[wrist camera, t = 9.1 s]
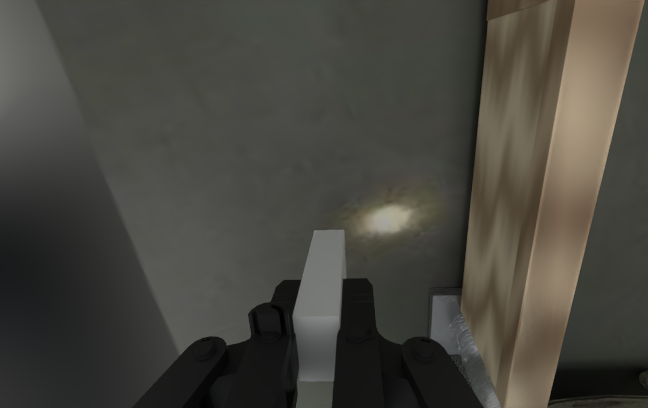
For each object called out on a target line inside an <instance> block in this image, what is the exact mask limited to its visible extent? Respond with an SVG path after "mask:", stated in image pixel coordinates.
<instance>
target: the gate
mask: <svg viewBox="0 0 648 408" xmlns="http://www.w3.org/2000/svg"><path fill="white" fill-rule="evenodd" d="M643 5H644V0H488V9H487V19H486V21H488V28H487V38H486V49H485V59H484V70H483V80H482V90H481V101H480V111H479V122H478V132H477V143H476V153H475V163H474V174H473V184H472V195H471V205H470V215H469V226H468V236H467V247H466V257H465V268H464V278H463V288H462V299H461V309H460V310H461V312H462V315H463V317H464V319H465V322H466V324H467V326H468V328H469V331H470V333H471V335H472V337H473V340H474V342H475V344H476V346H477V349H478V351H479V353H480V356H481V358H482V360H483V362H484V365H485V367H486V369H487V371H488V374H489V376H490V378H491V381H492V383H493V385H494V387H495V394H496V396H497V398H498V401H499V403H500V405H501V408H547V405H548V401H549V397H550V393H551V389H552V385H553V380H554V376H555V372H556V368H557V364H558V359H559V355H560V351H561V347H562V343H563V339H564V334H565V330H566V326H567V322H568V318H569V314H570V309H571V305H572V301H573V297H574V293H575V289H576V284H577V280H578V276H579V272H580V268H581V263H582V259H583V255H584V251H585V247H586V243H587V238H588V234H589V230H590V226H591V222H592V218H593V213H594V209H595V205H596V201H597V197H598V192H599V188H600V184H601V180H602V176H603V172H604V167H605V163H606V159H607V155H608V151H609V147H610V142H611V138H612V134H613V130H614V126H615V122H616V117H617V113H618V109H619V105H620V101H621V96H622V92H623V88H624V84H625V80H626V76H627V71H628V67H629V63H630V59H631V55H632V51H633V46H634V42H635V38H636V34H637V30H638V26H639V21H640V17H641V13H642V9H643Z"/></svg>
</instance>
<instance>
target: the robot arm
mask: <svg viewBox="0 0 648 408" xmlns="http://www.w3.org/2000/svg"><path fill="white" fill-rule="evenodd" d="M346 278H347V277H346V255H345V233H344V230H314V233H313V237H312V241H311V245H310V249H309V253H308V257H307V261H306V265H305V269H304V273H303V276H302V280H283V281H282V282H281V283H280V284H279V285H278V286H277V287H276V289H275V292H274V295H273V297H272V300H271V302H268V303H263V304H260V305H258V306H256V307H255V308H253V309H252V310H251V311H250V313H249V314H248V317H249V323H250V329H251V338H250V339H248V340H246V341H244V342H241V343H237V344H233V345H228V346H227V345H226V342H225V341H224V340H223V339H222V338H219V337H212V336H210V337H205V338H202V339H200V340H197V341H195V342H194V343H193V344H191V345H190V346H189V347H188V348H187V349H186V350H185V351H184V352H183V353H182V354H181V355H180V356H179V358H178V359H177V360H176V361H175V362H174V363H173V364H172V365H171V366H170V367H169V368H168V369H167V370H166V372H165V373H164V374H163V375H162V376H161V377H160V378H159V379H158V380H157V382H155V383H154V384H153V386H152V387H151V388H150V389H149V390H148V391H147V392H146V393H145V394H144V395H143V396H142V397H141V398H140V400H139V401H138V402H137V403H136V404H135V405H134V406H133V407H132V408H295V407H296V401H297V395H298V393H297V377H298V372H299V379H300V381H319V382H334V387H333V401H332V408H484V407H483V405H482V404H481V402H480V401H479V399H478V398H477V396H476V395H475V393H474V392H473V390H472V389H471V387H470V386H469V384H468V383H467V381H466V380H465V378H464V377H463V375H462V374H461V372H460V371H459V369H458V368H457V366H456V365H455V363H454V362H453V360H452V359H451V357H450V356H449V354H448V353H447V351H446V350H445V348H444V347H443V346H442V345H441V344H440V343H438V342H436V341H435V340H433V339H430V338H426V337H414V338H411V339H408V340H407V341H406V342H404V343H403V345H400V344H396V343H393V342H390V341H388V340H386V339H385V338H383V337H382V336H381V335H380V334H379V332H378V331H377V328H376V320H375V309H374V297H373V286H372V284H371V283H370V282H369V281H368V279H367V278H363V279H346Z"/></svg>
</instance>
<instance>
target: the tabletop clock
mask: <svg viewBox="0 0 648 408" xmlns="http://www.w3.org/2000/svg"><path fill="white" fill-rule="evenodd" d="M639 380H640V383H641V384H642V385H643V386H644V387H645V388H646V389H647V390H648V370H646V371H643V372H642V373H640V375H639ZM547 408H648V396H647V395H610V394H605V395H594V396H583V397H573V398H563V399H555V400H550V401H548V405H547Z"/></svg>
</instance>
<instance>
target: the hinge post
mask: <svg viewBox="0 0 648 408" xmlns="http://www.w3.org/2000/svg"><path fill="white" fill-rule="evenodd" d="M461 299H462V288H430V306H429V327H428V338H430V339H433V340H435V341H436V342H438V343H440V344H441V345H442V346H443V347H444V348H445V350H446V351H447V353H448V354H457V355H460V356H461V359H462V362H463V364H464V367H465V370H466V373H467V375H468V378H469V381H470V383H471V386H472V389H473V391H474V393H475V395H476V396H477V398H478V399H479V401H480V402H481V404H482V405H483V407H484V408H501V405H500V403H499V401H498V398H497V396H496V394H495V387H494V385H493V383H492V381H491V378H490V376H489V374H488V371H487V369H486V367H485V365H484V362H483V360H482V358H481V356H480V353H479V351H478V349H477V346H476V344H475V342H474V340H473V337H472V335H471V333H470V331H469V328H468V326H467V324H466V322H465V319H464V317H463V315H462V312H461V310H460V309H461Z"/></svg>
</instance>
